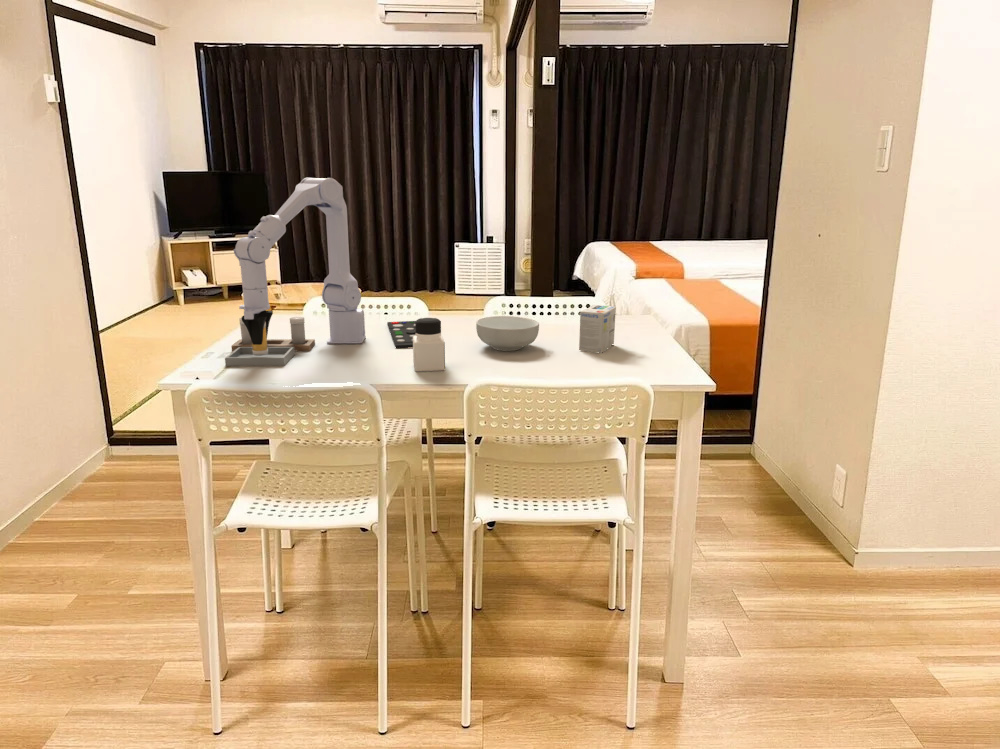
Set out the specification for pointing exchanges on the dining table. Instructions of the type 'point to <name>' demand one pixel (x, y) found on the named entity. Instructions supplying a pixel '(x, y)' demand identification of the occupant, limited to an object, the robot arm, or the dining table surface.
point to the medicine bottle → (428, 345)
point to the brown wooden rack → (280, 344)
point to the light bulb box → (597, 328)
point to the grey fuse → (297, 330)
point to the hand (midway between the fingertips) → (259, 342)
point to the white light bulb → (244, 333)
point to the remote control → (402, 333)
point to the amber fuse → (261, 349)
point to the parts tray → (260, 357)
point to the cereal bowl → (507, 332)
